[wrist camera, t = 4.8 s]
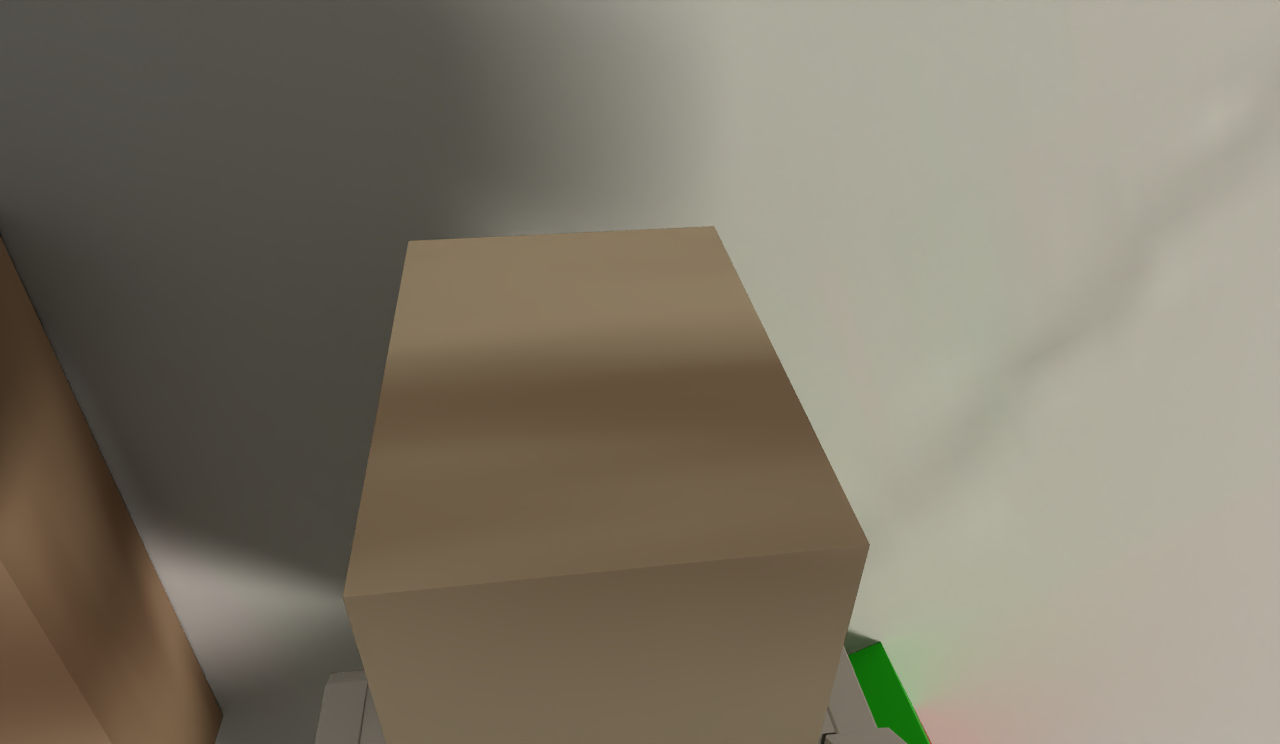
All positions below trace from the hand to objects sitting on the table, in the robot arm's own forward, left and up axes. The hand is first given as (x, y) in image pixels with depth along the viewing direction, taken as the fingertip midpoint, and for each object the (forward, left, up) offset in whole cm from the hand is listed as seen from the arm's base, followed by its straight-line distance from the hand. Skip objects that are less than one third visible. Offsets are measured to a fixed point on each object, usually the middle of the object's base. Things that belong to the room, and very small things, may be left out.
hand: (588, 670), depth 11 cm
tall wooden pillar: (0, 0, -2) cm, 2 cm away
